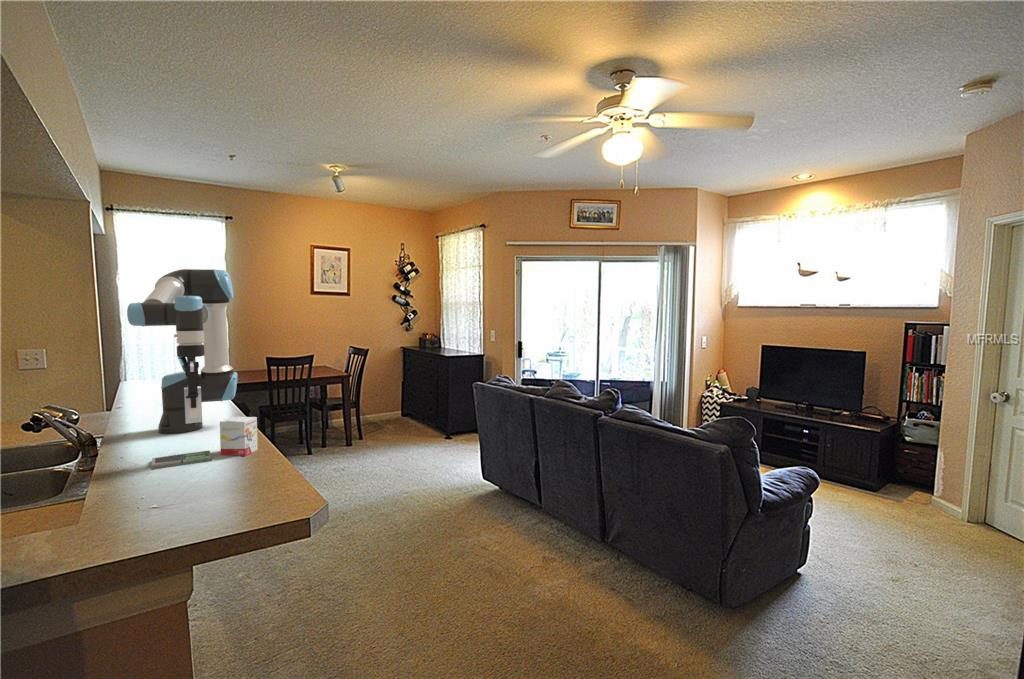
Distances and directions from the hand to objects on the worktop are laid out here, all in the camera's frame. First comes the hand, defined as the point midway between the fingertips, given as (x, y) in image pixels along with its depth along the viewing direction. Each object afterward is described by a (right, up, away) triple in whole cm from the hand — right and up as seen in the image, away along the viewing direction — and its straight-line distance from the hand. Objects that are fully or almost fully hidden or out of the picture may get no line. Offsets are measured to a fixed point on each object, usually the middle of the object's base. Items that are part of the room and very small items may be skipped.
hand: (193, 416), depth 165 cm
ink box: (+10, -14, +9) cm, 19 cm away
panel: (-3, -14, -1) cm, 15 cm away
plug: (0, -2, 0) cm, 2 cm away
